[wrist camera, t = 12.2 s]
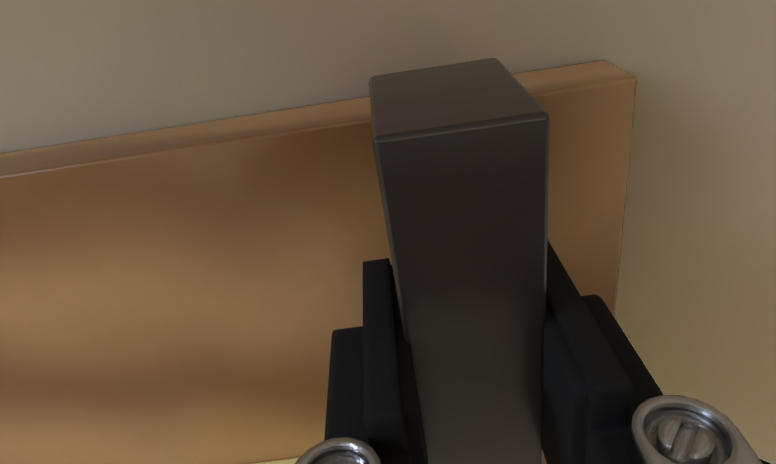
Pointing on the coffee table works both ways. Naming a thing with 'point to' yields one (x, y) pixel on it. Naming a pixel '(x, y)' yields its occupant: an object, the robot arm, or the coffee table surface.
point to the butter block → (280, 461)
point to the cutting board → (236, 271)
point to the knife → (468, 252)
